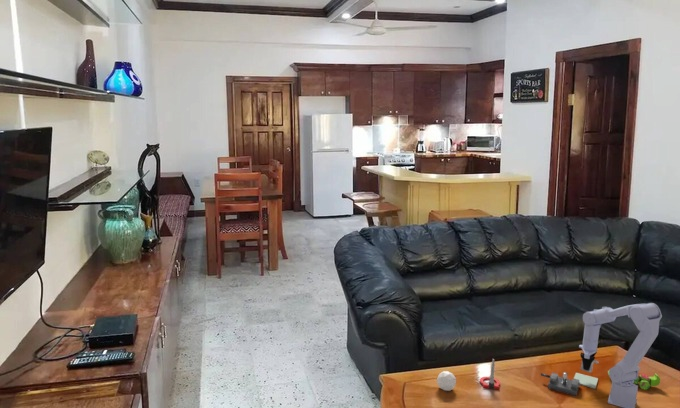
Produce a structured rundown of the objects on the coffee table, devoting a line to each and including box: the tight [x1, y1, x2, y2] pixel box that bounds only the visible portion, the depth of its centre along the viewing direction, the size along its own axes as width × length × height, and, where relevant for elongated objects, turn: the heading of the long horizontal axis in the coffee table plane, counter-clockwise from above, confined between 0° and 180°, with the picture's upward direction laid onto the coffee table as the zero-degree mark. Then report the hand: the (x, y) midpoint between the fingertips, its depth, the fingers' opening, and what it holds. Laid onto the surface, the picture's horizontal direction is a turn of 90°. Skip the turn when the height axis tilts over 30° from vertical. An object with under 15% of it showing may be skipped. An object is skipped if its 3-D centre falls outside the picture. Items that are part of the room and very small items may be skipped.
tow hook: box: [479, 358, 501, 390], centre depth 222 cm, size 8×13×9 cm
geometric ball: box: [436, 370, 457, 392], centre depth 217 cm, size 8×8×8 cm
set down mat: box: [573, 372, 599, 390], centre depth 227 cm, size 9×9×1 cm
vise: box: [540, 371, 581, 397], centre depth 222 cm, size 15×9×6 cm, turn 58°
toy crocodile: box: [607, 370, 661, 391], centre depth 226 cm, size 20×7×6 cm, turn 66°
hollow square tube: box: [580, 359, 599, 374], centre depth 225 cm, size 6×4×5 cm
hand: (587, 367), depth 226 cm, fingers closed on hollow square tube, 4 cm apart
